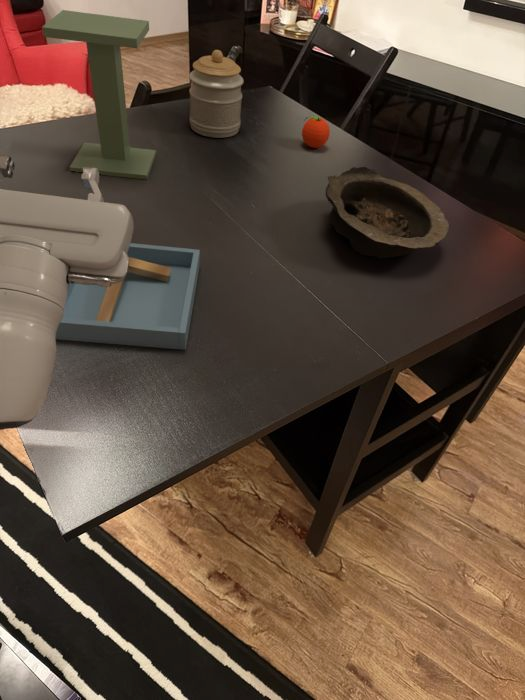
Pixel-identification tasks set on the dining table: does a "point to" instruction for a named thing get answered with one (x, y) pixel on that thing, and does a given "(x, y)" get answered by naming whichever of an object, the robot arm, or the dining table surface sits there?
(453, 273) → the dining table surface
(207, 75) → the jar
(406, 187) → the stone bowl
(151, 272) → the wooden t-shaped piece
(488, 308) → the dining table surface
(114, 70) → the green pedestal stand
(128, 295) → the tray
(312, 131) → the clementine
